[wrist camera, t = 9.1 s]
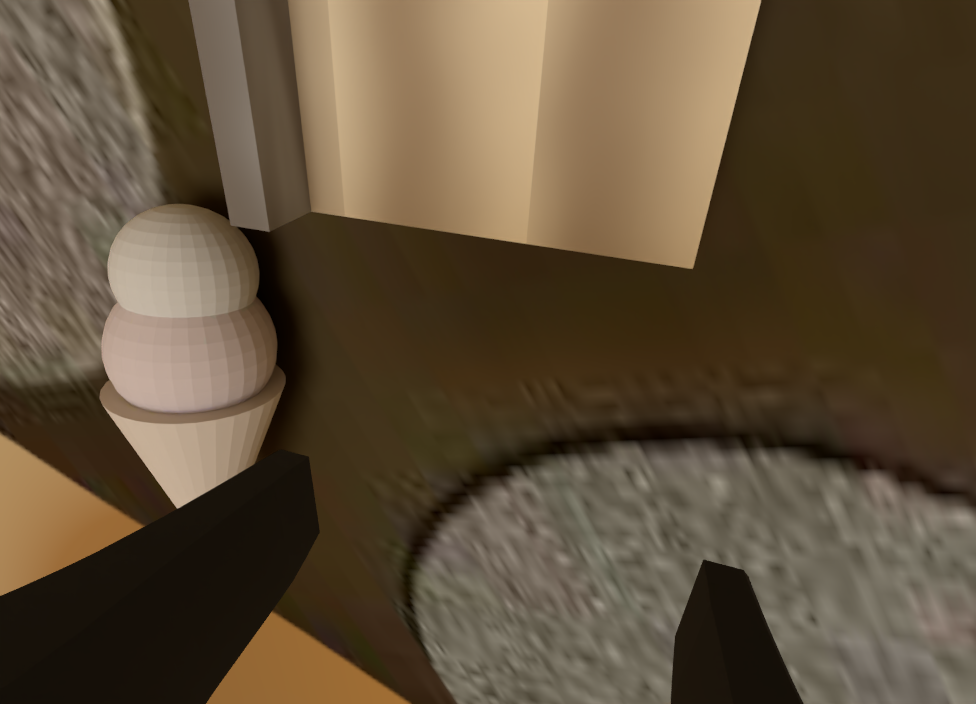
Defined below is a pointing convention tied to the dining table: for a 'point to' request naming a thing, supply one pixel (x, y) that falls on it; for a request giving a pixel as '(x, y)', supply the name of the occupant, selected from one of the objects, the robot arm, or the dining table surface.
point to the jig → (478, 115)
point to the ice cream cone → (189, 348)
